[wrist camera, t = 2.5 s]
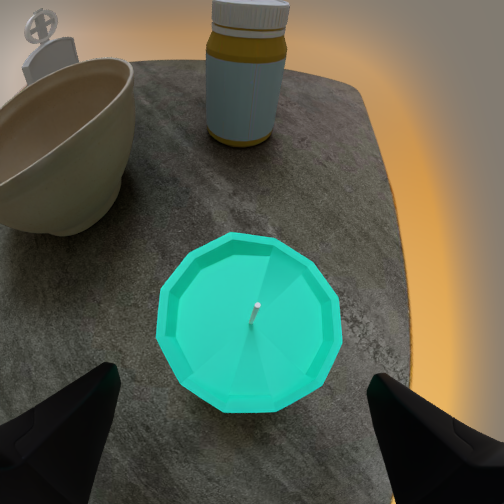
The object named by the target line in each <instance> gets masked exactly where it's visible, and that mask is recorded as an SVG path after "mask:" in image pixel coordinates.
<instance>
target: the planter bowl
mask: <svg viewBox="0 0 504 504" xmlns="http://www.w3.org/2000/svg"><path fill="white" fill-rule="evenodd" d="M133 86H134V72H133V68H132V66H131V64H130V63H129V62H127V61H125V60H123V59H119V58H112V57H111V58H110V57H107V58H96V59H91V60H86V61H83V62H79V63H76V64H72V65H70V66H67V67H64V68H62V69H59V70H57V71H55V72H53V73H51V74H49V75H47V76H45V77H43V78H41V79H39V80H37V81H36V82H34V83H33V84H31V85H29V86H28V87H26V88H25V89H23V90H22V91H20V92H19V93H18V94H17V95H15V96H14V97H13V98H12V99H10V100H9V101H8V102H7V103H6V104H4V105H3V106H2V107H1V108H0V223H1V224H3V225H5V226H8V227H10V228H13V229H16V230H20V231H24V232H30V233H50V234H52V235H55V236H71V235H74V234H77V233H80V232H82V231H84V230H86V229H88V228H89V227H91V226H92V225H94V224H95V223H96V222H97V221H99V220H100V219H101V218H102V217H103V216H104V215H105V214H106V213H107V212H108V210H109V209H110V208H111V206H112V205H113V203H114V202H115V200H116V198H117V196H118V193H119V191H120V186H121V177H122V175H123V172H124V170H125V167H126V164H127V161H128V158H129V155H130V151H131V147H132V142H133V136H134V128H135V101H134V93H133Z"/></svg>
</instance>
